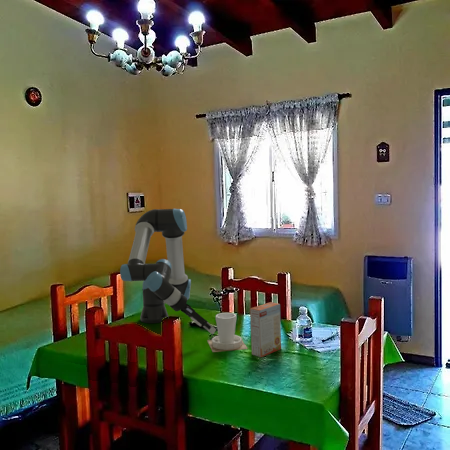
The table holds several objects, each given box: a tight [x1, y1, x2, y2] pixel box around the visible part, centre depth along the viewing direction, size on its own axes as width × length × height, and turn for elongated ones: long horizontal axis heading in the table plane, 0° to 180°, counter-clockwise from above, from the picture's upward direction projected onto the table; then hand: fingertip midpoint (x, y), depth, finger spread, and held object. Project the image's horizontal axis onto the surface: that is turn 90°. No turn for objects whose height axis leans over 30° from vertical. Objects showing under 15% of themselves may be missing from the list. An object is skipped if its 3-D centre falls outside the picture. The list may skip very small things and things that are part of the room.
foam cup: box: [215, 312, 237, 344], centre depth 213 cm, size 10×9×13 cm
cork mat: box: [206, 339, 249, 353], centre depth 214 cm, size 16×16×1 cm
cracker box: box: [249, 301, 282, 358], centre depth 203 cm, size 14×6×21 cm, turn 134°
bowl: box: [211, 334, 243, 350], centre depth 214 cm, size 14×14×2 cm
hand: (207, 327), depth 209 cm, fingers open, 13 cm apart
